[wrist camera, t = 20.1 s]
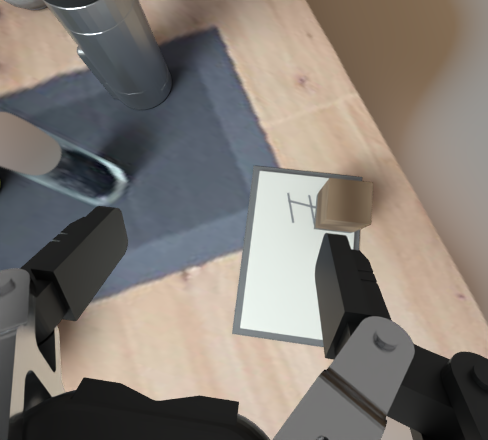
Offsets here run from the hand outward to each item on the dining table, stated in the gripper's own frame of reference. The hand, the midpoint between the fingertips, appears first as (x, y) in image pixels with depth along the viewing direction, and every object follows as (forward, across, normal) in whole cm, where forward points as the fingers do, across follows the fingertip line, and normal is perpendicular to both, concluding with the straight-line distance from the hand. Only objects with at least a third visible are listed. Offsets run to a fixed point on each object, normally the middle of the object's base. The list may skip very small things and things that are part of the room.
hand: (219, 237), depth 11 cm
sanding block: (+25, -12, +14) cm, 31 cm away
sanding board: (+22, -8, +18) cm, 29 cm away
